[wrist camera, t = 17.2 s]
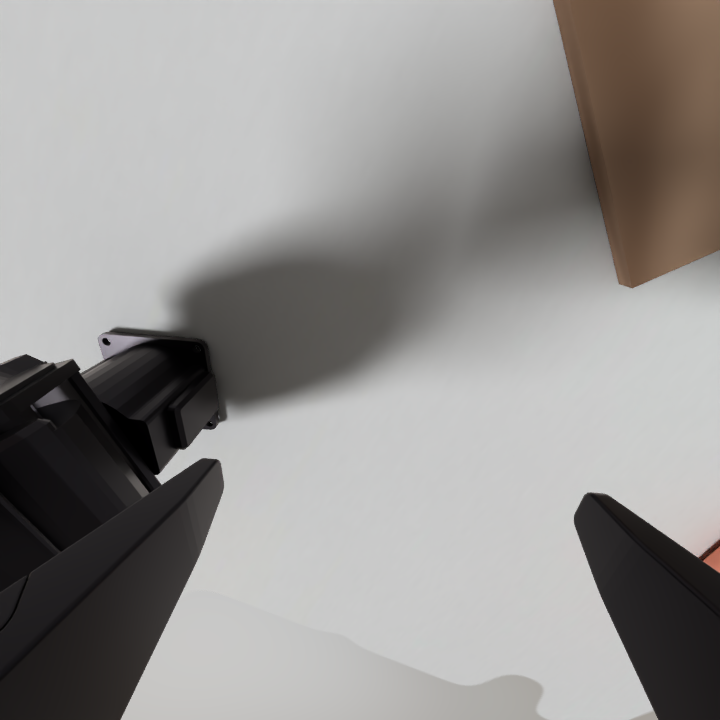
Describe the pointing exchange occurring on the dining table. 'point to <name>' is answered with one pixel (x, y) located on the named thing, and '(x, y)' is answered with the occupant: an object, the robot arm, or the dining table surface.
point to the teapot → (714, 560)
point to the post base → (650, 125)
